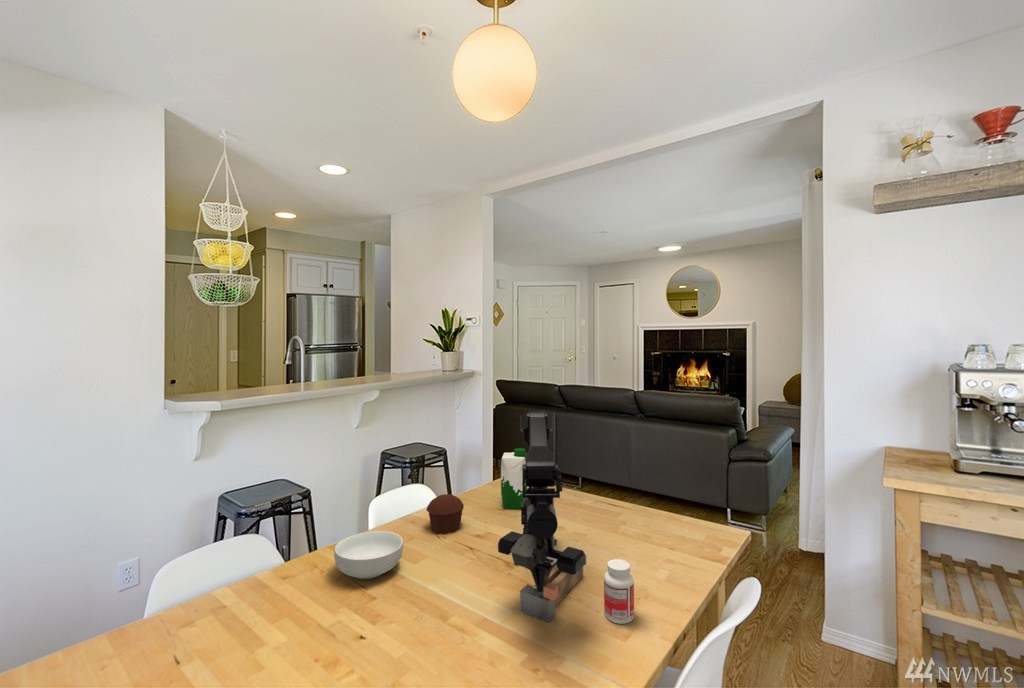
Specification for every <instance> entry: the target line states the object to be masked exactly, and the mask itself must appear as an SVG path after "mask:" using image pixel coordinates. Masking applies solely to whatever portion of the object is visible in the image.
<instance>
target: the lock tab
mask: <svg viewBox="0 0 1024 688" xmlns="http://www.w3.org/2000/svg"><path fill="white" fill-rule="evenodd" d="M557 597H558V586H557V585H554V584H551V583H547V584H546V585H545V586H544V598H547V599H550V600H553V601H554V600H555V599H556V598H557Z"/></svg>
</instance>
